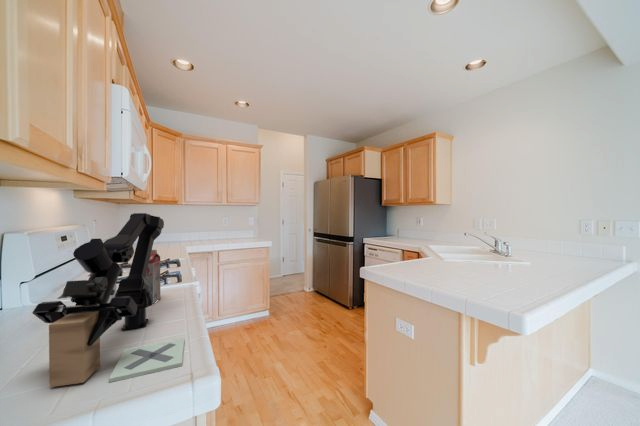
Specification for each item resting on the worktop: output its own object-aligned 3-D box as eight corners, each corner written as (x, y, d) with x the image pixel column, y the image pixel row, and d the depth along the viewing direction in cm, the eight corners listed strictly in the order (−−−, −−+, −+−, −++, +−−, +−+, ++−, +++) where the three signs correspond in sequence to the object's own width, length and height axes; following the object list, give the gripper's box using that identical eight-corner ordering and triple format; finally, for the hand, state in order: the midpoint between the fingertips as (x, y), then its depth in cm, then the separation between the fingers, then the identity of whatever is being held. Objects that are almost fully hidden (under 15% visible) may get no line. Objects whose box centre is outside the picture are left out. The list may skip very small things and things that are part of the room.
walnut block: (69, 370, 60) (69, 314, 60) (100, 366, 61) (99, 311, 61) (49, 387, 54) (48, 324, 54) (83, 382, 55) (82, 321, 55)
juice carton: (153, 304, 105) (152, 250, 105) (135, 305, 104) (134, 251, 104) (160, 299, 112) (160, 248, 112) (143, 300, 111) (143, 249, 111)
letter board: (124, 352, 69) (124, 348, 69) (184, 340, 75) (184, 337, 75) (108, 382, 56) (108, 378, 56) (182, 366, 62) (182, 362, 62)
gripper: (39, 267, 59) (-10, 337, 49) (132, 263, 64) (106, 327, 53) (64, 291, 67) (27, 357, 56) (145, 286, 71) (126, 346, 61)
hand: (71, 346), depth 56 cm, fingers closed on walnut block, 6 cm apart
